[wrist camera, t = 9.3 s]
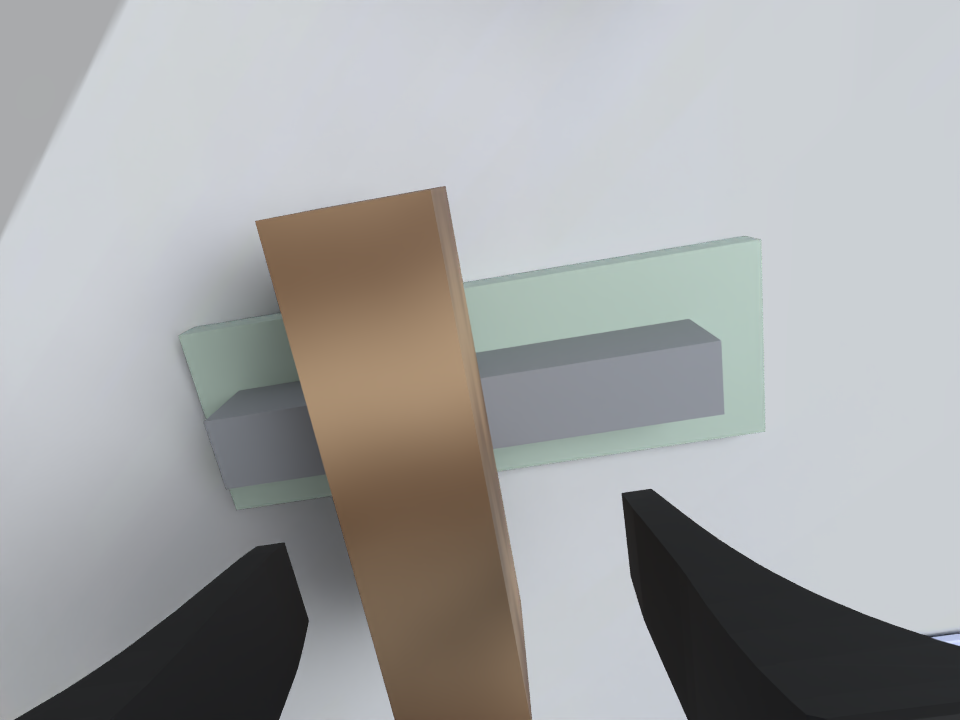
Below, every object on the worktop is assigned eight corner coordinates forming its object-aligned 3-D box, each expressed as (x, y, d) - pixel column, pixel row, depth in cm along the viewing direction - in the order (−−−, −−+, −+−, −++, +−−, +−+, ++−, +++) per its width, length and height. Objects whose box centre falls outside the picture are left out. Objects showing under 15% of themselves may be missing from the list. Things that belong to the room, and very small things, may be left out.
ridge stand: (750, 418, 22) (806, 468, 19) (248, 493, 23) (202, 555, 20) (745, 235, 20) (806, 249, 16) (194, 327, 21) (131, 359, 17)
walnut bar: (521, 602, 20) (533, 734, 15) (421, 616, 20) (403, 751, 16) (445, 186, 16) (430, 189, 11) (321, 208, 16) (254, 221, 11)
